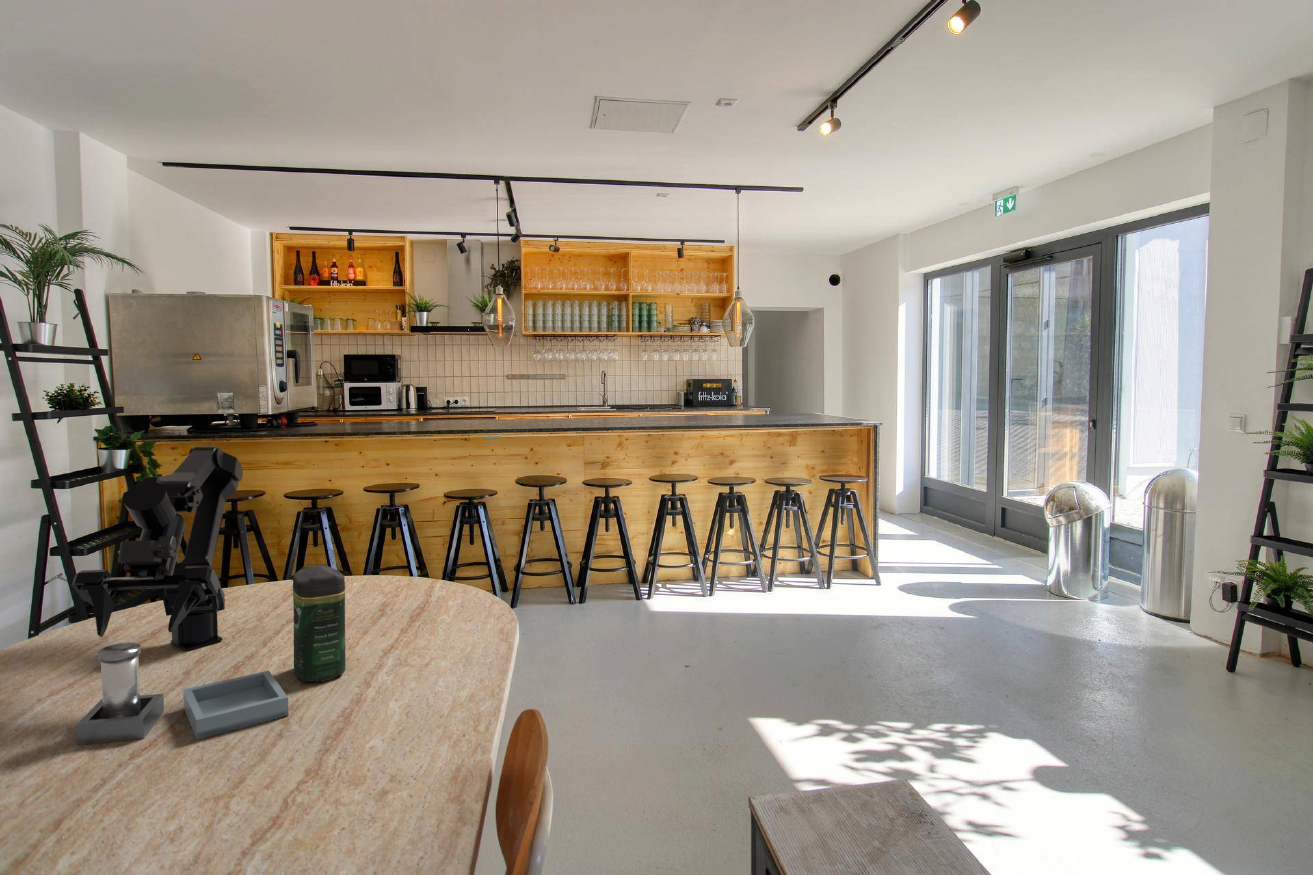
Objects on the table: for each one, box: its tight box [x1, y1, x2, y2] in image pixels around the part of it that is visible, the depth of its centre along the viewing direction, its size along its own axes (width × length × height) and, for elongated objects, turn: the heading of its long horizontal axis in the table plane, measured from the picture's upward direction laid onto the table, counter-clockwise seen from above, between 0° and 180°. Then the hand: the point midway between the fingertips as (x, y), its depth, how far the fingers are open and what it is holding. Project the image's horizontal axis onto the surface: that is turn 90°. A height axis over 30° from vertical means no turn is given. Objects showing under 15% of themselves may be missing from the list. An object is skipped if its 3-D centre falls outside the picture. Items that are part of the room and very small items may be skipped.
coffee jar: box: [292, 564, 347, 682], centre depth 127 cm, size 10×8×19 cm
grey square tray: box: [76, 693, 165, 746], centre depth 107 cm, size 8×8×3 cm
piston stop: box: [97, 641, 142, 719], centre depth 107 cm, size 5×5×12 cm
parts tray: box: [182, 670, 289, 741], centre depth 113 cm, size 12×12×3 cm
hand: (135, 633), depth 112 cm, fingers open, 9 cm apart
